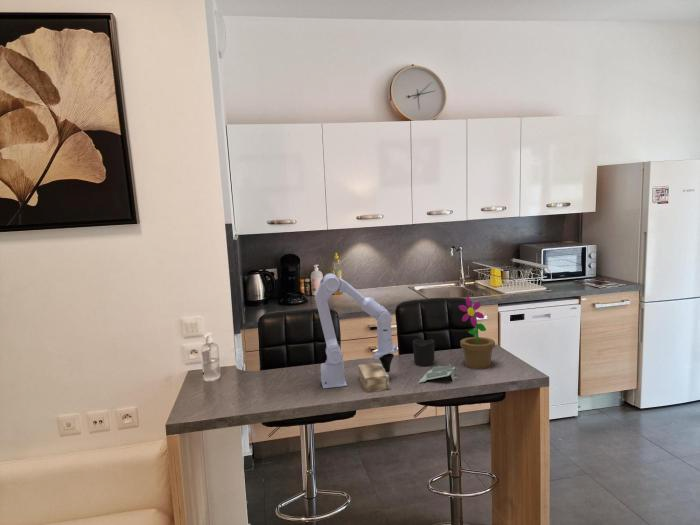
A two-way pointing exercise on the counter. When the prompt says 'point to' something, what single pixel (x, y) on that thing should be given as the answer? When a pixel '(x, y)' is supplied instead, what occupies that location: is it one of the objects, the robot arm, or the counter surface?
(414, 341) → the pen holder
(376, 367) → the beige rectangular block
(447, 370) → the metal bracket
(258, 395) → the counter surface
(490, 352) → the flowerpot
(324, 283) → the robot arm
